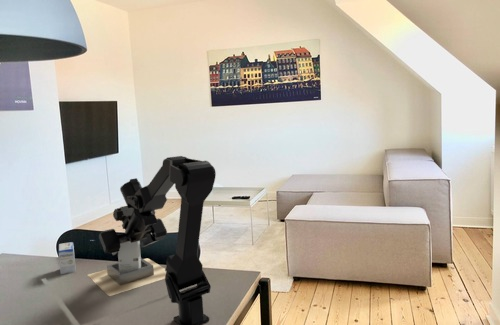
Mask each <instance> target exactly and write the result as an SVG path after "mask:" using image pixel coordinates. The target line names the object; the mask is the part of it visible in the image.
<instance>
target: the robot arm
mask: <svg viewBox="0 0 500 325" xmlns="http://www.w3.org/2000/svg"><path fill="white" fill-rule="evenodd" d="M216 172H217V171H216V168H215V167H214V166H213V165H212V164H211V162H209V161H208V160H200V159H194V158H189V157H186V156H183V155H177V156H169V157H166V158H164V159H163V160H162V165H161V166H160V167H159V169H158V171H157V172H156V173H155V175H154V177H153V178H152V179H151V181H150V182H149V184H148V185H145V186H142V185H141V182H140V181H139V180H138V178H131V179H129V181H127V182H126V183H124V184H122V185H121V186H120V193H121V194H122V197H123V199H124V201H125V204H126V205H124V206H120V207H119V208H115V209H114V211H113V213H112V214H113V215H112V216H113V218H114V220H115V221H116V222H118V221H120V222H121V223H122V224H121V227H122V229H123V230H125V231H124V233H122V234H121V233H120V234H118V233H117V231H116V229H114V228H111V229H105V230H102V231H100V233H99V235H98V239H99V241H100V244H101V246H102V249H103V252H104V253H105V254H112V256H115V255H117V254H118V252H119V251H120V250H119V249H120V244H121V243H125V242H129V241H130V242H131V243H132V242H136V241H140V247H141V248H144V247H147V246H149V245H151V244H154V243H156V242H158V241H159V242H160V241H161V240H163V239H166V236H167V235H168V230H167V228H166V225H165V224H164V222H163V220H162V219H161V218H157V217H156V210H161V209H163V208H164V207H165V205H166V202H167V201H168V198H167V193H169V191H170V190H172V187H173V186H174V187H175V189H176V192H177V193H178V195H179V196H180V209H179V219H178V228H177V229H178V231H177V239H176V250H175V254H172V255H167V258H166V267H165V271H166V275H165V279H164V282H165V286H166V291H167V294H168V297H169V299H170V303H172V304H177V305H178V315H176V316H173V319H172V320H173V321H174V322H175V323H177V324H178V325H202V324H204V323H205V322H208V321H210V317H209V316H208V315H206V314H205V313H204V305H203V304H204V302H203V300H204V299H203V296H204V295H206V294H209V293H211V284H210V282H209V279H208V278H207V276H206V274H205V272H204V270H203V263H202V262H201V260H200V259H199V257H198V250H199V243H200V234H201V227H202V226H201V225H202V218H203V210H204V203H205V201H206V199H207V198H208V197H209V196H210V194H211V192H213V190H214V185H215V180H216V174H217V173H216Z"/></svg>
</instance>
